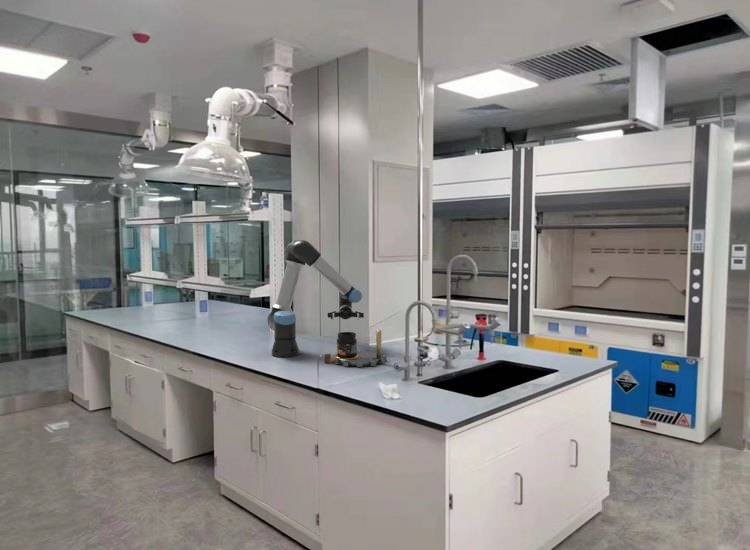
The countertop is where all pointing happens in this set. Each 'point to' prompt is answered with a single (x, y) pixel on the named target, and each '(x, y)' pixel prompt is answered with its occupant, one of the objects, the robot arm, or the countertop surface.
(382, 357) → the turntable
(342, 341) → the supplement container
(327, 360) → the index mark
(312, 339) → the countertop surface
